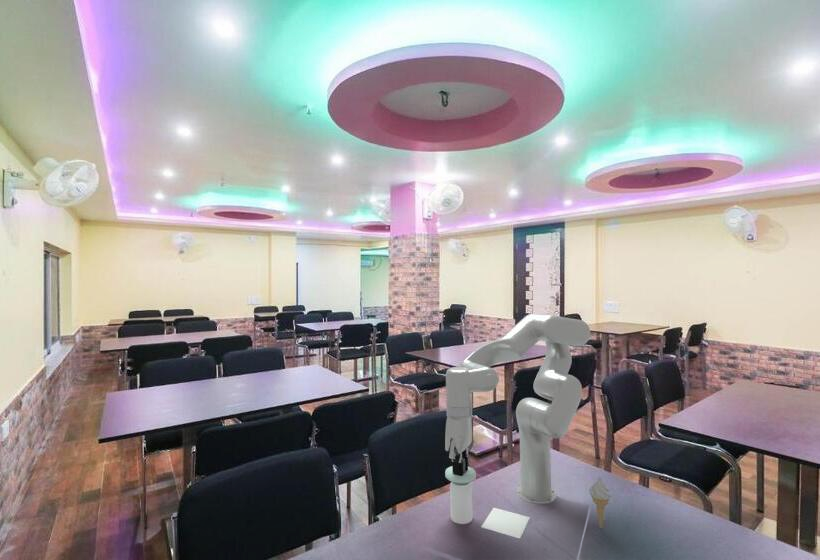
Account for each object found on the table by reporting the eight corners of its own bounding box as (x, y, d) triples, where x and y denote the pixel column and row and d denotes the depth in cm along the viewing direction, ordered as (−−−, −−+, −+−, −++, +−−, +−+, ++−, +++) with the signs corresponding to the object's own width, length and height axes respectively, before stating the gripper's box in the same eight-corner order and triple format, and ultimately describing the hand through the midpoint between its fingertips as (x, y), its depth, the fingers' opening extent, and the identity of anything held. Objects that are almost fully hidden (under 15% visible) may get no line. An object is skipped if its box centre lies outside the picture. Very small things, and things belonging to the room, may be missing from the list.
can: (472, 528, 116) (471, 486, 116) (449, 526, 117) (448, 484, 117) (473, 515, 122) (472, 475, 122) (451, 513, 124) (450, 474, 124)
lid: (452, 466, 126) (452, 450, 126) (480, 472, 121) (480, 455, 121) (440, 478, 118) (440, 461, 118) (469, 486, 113) (469, 468, 113)
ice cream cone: (610, 524, 116) (609, 472, 116) (613, 536, 111) (612, 482, 111) (589, 521, 118) (588, 469, 118) (591, 532, 113) (589, 479, 113)
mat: (493, 510, 125) (493, 507, 125) (529, 520, 119) (529, 517, 119) (481, 530, 115) (481, 526, 115) (519, 542, 110) (519, 538, 109)
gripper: (458, 401, 128) (459, 459, 128) (435, 416, 114) (436, 481, 114) (480, 404, 125) (482, 464, 125) (460, 420, 111) (461, 488, 111)
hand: (460, 471), depth 119 cm, fingers closed on lid, 2 cm apart
